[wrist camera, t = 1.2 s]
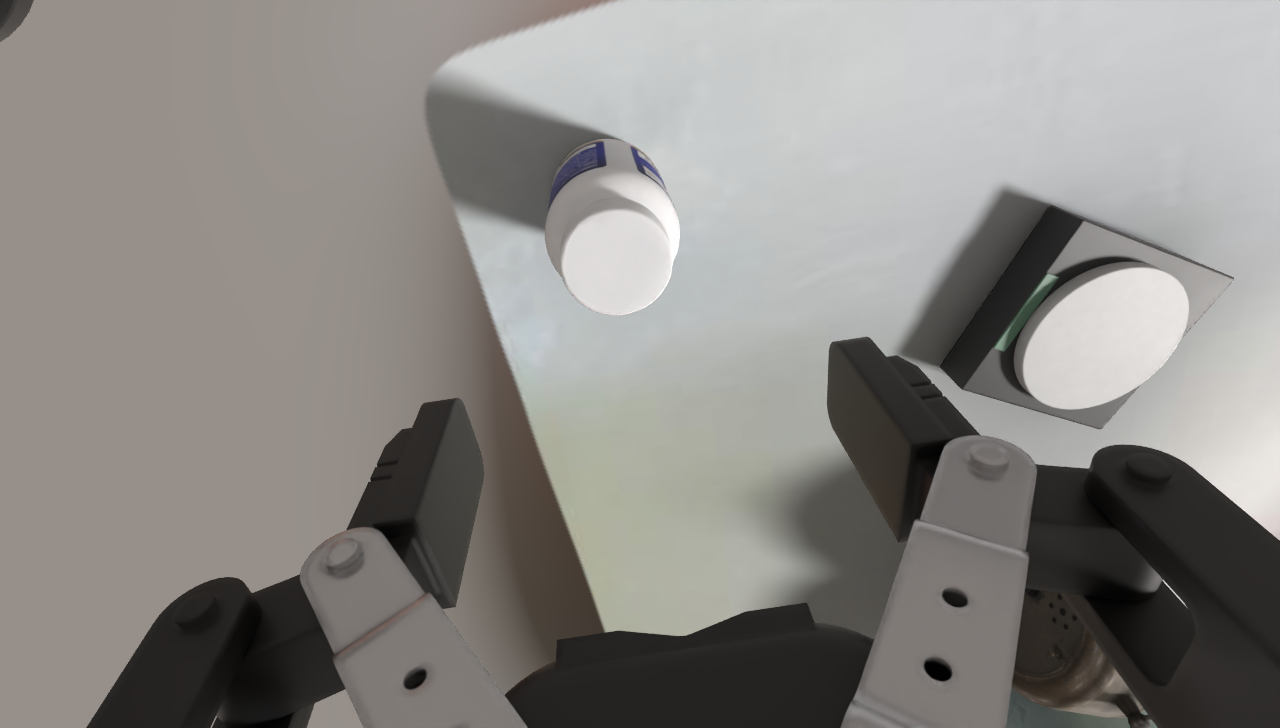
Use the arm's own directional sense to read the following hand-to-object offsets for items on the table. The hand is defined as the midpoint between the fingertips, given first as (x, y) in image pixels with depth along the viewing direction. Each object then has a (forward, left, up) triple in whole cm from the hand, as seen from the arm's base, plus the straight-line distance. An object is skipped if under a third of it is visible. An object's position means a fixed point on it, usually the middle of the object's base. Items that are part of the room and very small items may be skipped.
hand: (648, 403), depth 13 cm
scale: (+21, +16, -18) cm, 31 cm away
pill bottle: (0, 0, -18) cm, 18 cm away
